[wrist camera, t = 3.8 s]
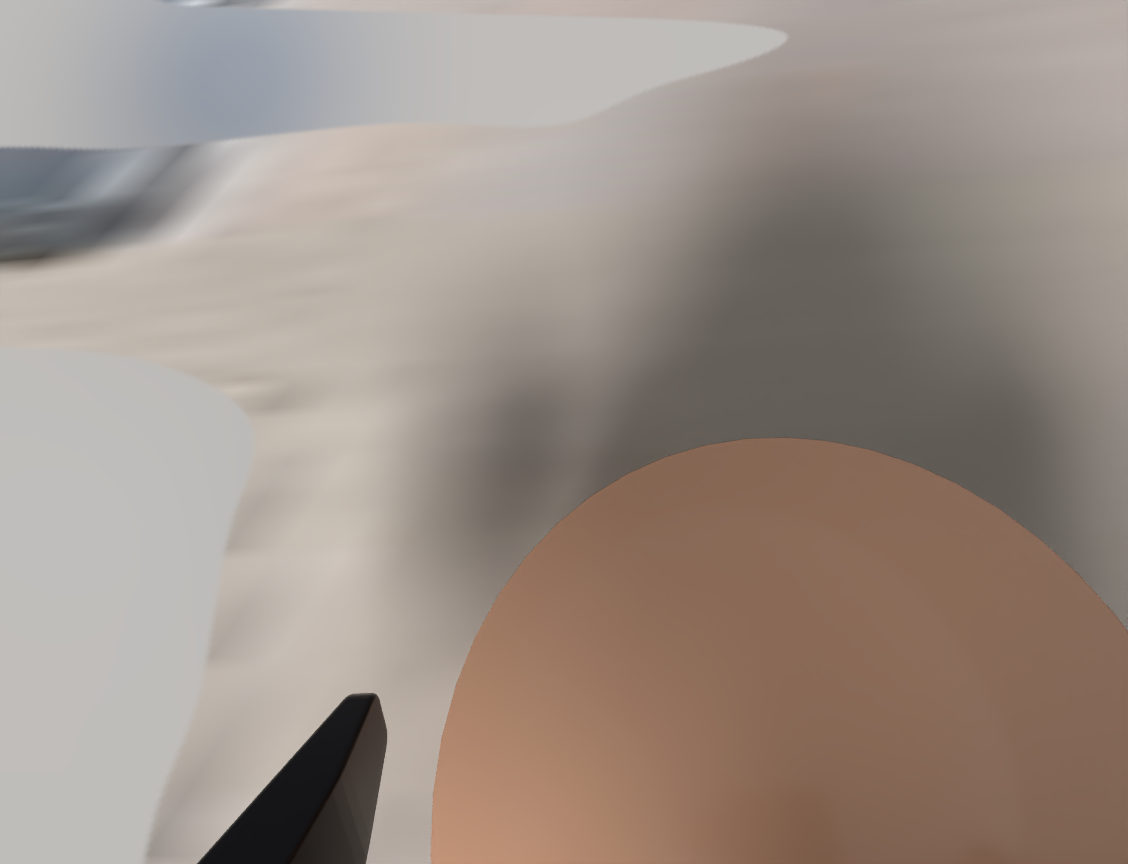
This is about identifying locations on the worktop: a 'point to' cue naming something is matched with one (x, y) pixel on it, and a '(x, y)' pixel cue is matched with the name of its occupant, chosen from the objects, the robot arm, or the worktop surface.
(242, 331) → the worktop surface
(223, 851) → the robot arm
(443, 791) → the canister
